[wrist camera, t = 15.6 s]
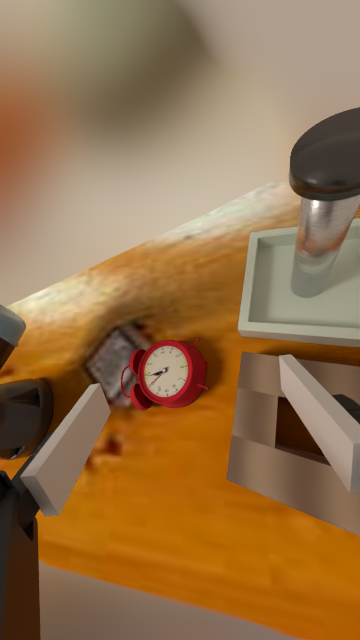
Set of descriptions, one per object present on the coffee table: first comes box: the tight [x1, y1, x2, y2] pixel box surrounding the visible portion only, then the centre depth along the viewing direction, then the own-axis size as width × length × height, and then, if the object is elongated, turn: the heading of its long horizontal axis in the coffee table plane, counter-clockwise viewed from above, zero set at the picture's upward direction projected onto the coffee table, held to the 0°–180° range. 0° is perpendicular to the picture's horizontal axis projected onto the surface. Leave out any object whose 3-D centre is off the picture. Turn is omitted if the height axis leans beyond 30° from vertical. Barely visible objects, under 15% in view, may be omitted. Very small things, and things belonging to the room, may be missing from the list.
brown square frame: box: [227, 352, 360, 536], centre depth 22 cm, size 14×14×4 cm
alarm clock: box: [121, 338, 210, 410], centre depth 31 cm, size 10×6×15 cm
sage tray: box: [238, 218, 360, 348], centre depth 27 cm, size 16×16×4 cm
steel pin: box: [289, 107, 360, 298], centre depth 20 cm, size 6×6×18 cm
